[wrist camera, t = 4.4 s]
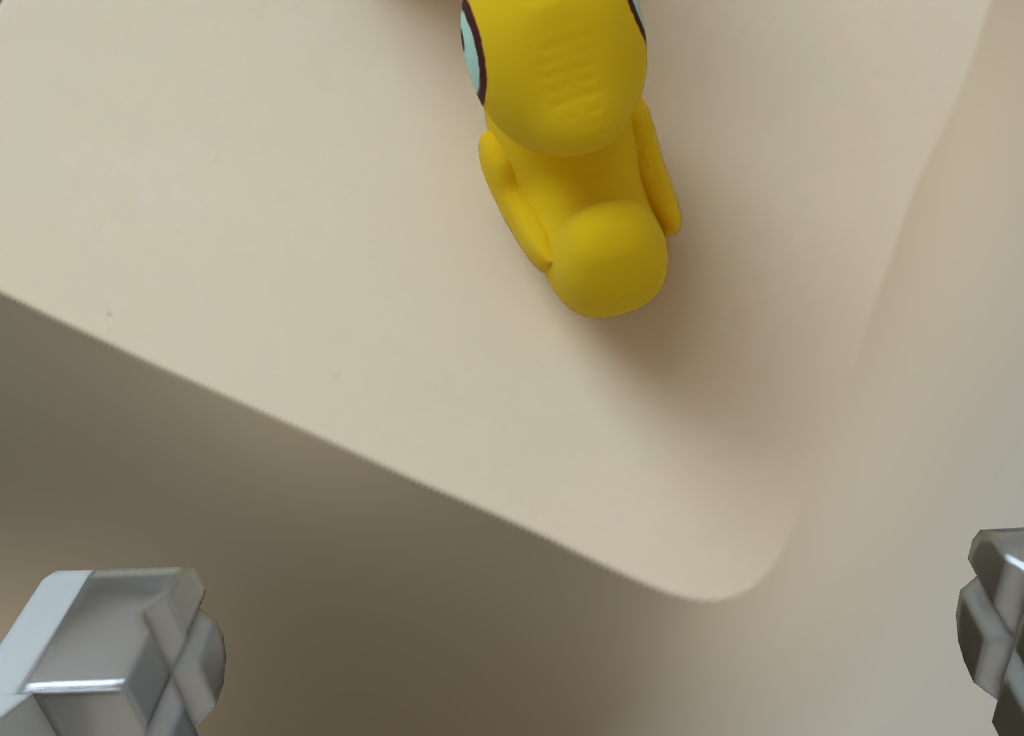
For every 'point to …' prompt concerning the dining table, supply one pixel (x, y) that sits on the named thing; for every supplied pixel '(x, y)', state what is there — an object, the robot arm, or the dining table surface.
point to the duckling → (573, 145)
